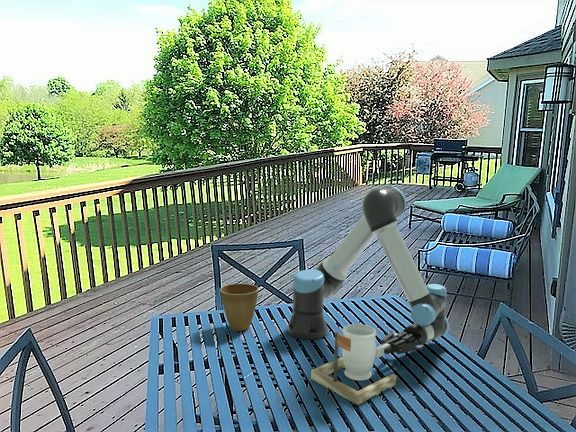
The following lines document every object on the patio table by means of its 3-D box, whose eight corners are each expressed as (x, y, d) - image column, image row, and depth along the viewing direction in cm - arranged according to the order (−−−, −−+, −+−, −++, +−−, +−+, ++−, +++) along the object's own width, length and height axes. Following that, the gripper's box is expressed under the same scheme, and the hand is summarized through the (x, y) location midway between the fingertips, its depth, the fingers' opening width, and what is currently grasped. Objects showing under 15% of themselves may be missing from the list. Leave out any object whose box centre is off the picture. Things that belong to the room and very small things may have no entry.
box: (348, 362, 157) (350, 311, 154) (395, 384, 143) (398, 328, 140) (311, 379, 146) (312, 323, 143) (357, 405, 132) (360, 344, 129)
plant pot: (265, 324, 189) (265, 285, 187) (246, 337, 176) (246, 296, 174) (233, 318, 195) (233, 280, 193) (213, 330, 182) (212, 290, 180)
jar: (380, 373, 150) (382, 328, 148) (365, 386, 142) (367, 339, 139) (350, 364, 156) (351, 321, 154) (335, 376, 148) (336, 331, 145)
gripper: (434, 350, 160) (392, 372, 144) (401, 338, 169) (359, 357, 154) (435, 329, 159) (393, 349, 143) (402, 318, 168) (360, 335, 153)
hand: (375, 353), depth 149 cm, fingers closed
